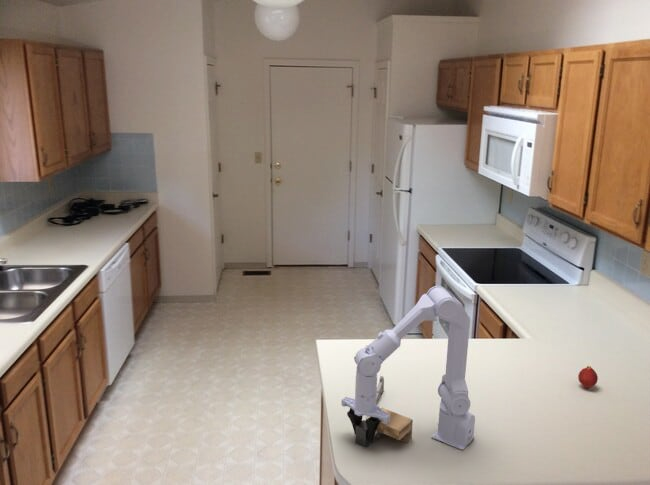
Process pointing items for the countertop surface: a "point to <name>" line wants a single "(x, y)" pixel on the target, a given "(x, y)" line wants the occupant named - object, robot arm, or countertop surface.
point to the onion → (588, 377)
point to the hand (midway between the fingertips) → (364, 436)
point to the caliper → (379, 390)
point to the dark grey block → (364, 434)
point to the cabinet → (396, 426)
